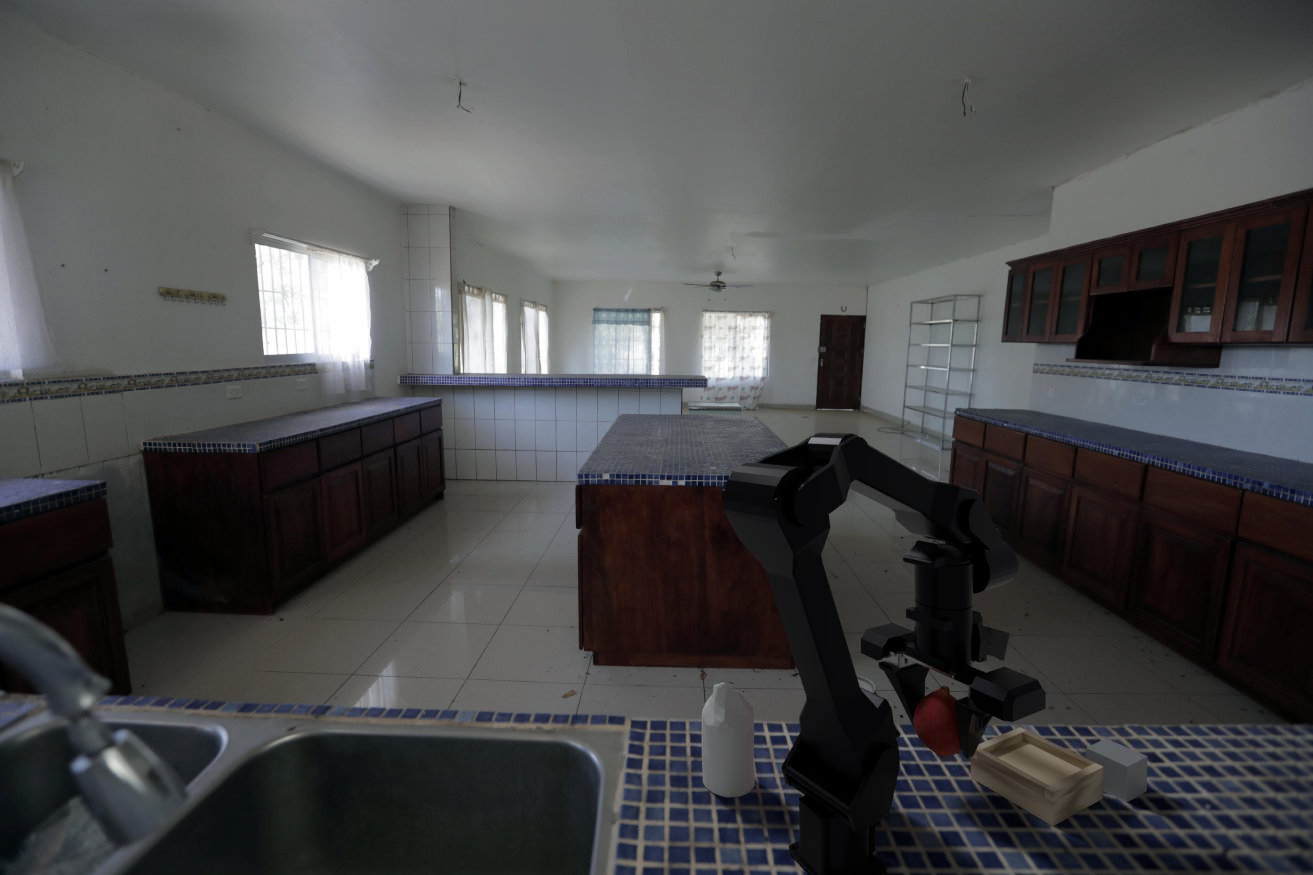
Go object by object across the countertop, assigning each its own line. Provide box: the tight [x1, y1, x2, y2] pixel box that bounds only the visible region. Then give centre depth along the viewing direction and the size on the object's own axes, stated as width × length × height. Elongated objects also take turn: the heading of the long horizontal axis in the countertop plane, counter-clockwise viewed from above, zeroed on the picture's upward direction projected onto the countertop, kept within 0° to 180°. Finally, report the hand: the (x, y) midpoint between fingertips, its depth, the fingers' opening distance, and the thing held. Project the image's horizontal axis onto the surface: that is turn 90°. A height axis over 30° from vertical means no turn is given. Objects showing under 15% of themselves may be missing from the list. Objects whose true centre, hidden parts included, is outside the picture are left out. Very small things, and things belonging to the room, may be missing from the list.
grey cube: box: [1085, 738, 1148, 804], centre depth 66 cm, size 4×4×4 cm
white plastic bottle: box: [701, 682, 755, 798], centre depth 67 cm, size 6×12×6 cm
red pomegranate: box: [913, 685, 962, 759], centre depth 65 cm, size 6×6×8 cm
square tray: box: [970, 727, 1104, 827], centre depth 66 cm, size 9×9×4 cm
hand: (942, 742), depth 65 cm, fingers closed on red pomegranate, 6 cm apart
